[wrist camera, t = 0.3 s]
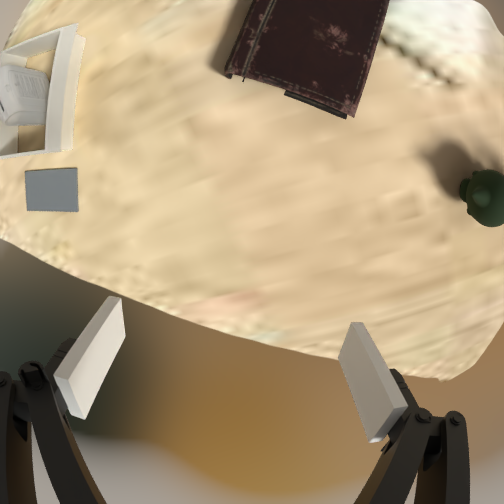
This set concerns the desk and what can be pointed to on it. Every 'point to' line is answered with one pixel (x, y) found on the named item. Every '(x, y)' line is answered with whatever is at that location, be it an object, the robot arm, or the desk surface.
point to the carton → (60, 92)
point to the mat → (52, 190)
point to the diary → (310, 49)
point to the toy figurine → (484, 197)
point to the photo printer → (23, 96)
